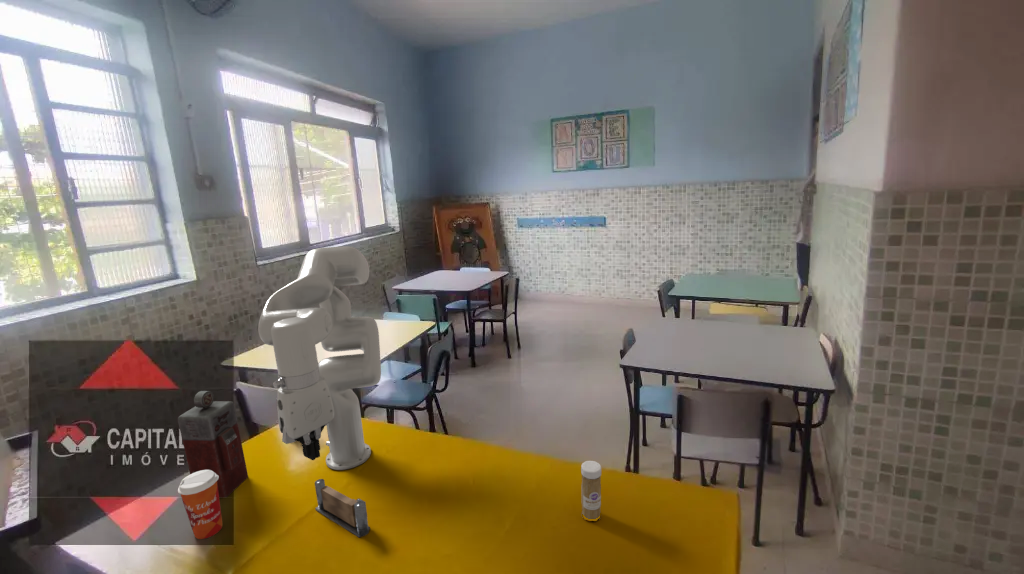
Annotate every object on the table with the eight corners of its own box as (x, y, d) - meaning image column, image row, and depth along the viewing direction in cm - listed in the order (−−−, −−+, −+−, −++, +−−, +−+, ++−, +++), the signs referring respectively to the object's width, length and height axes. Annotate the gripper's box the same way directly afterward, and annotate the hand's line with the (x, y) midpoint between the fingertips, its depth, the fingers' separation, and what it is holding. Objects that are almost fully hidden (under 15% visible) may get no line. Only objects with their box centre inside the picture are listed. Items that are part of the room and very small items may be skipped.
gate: (323, 508, 110) (320, 488, 109) (329, 504, 112) (326, 484, 110) (354, 527, 104) (351, 505, 103) (360, 522, 105) (358, 501, 104)
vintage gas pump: (234, 498, 117) (213, 400, 111) (194, 496, 118) (172, 399, 112) (256, 476, 126) (238, 384, 120) (219, 475, 127) (199, 384, 121)
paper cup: (186, 547, 101) (173, 493, 98) (191, 526, 108) (179, 474, 105) (226, 534, 105) (215, 482, 102) (229, 514, 111) (219, 464, 108)
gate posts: (315, 510, 111) (311, 483, 110) (328, 501, 114) (324, 475, 113) (361, 538, 102) (357, 510, 100) (373, 529, 104) (370, 501, 103)
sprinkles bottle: (588, 525, 103) (588, 474, 100) (577, 513, 107) (577, 463, 104) (605, 519, 105) (605, 468, 102) (593, 506, 109) (593, 457, 106)
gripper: (273, 396, 84) (288, 482, 88) (342, 368, 96) (353, 444, 100) (253, 388, 88) (268, 469, 92) (321, 361, 100) (332, 435, 104)
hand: (312, 456), depth 96 cm, fingers closed
